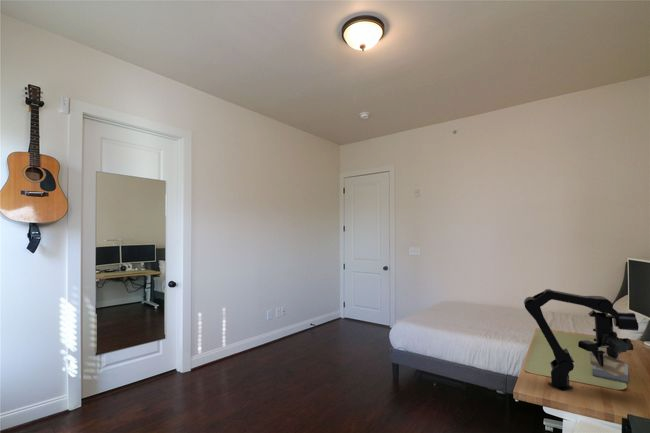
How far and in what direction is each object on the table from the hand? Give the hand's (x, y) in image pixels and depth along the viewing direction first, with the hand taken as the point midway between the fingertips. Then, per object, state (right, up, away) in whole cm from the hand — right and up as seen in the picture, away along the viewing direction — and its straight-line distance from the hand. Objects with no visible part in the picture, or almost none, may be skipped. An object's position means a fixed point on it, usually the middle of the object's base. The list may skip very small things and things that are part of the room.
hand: (606, 366), depth 137 cm
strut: (0, -1, 0) cm, 1 cm away
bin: (+17, -12, +18) cm, 27 cm away
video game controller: (+30, -12, +31) cm, 45 cm away
